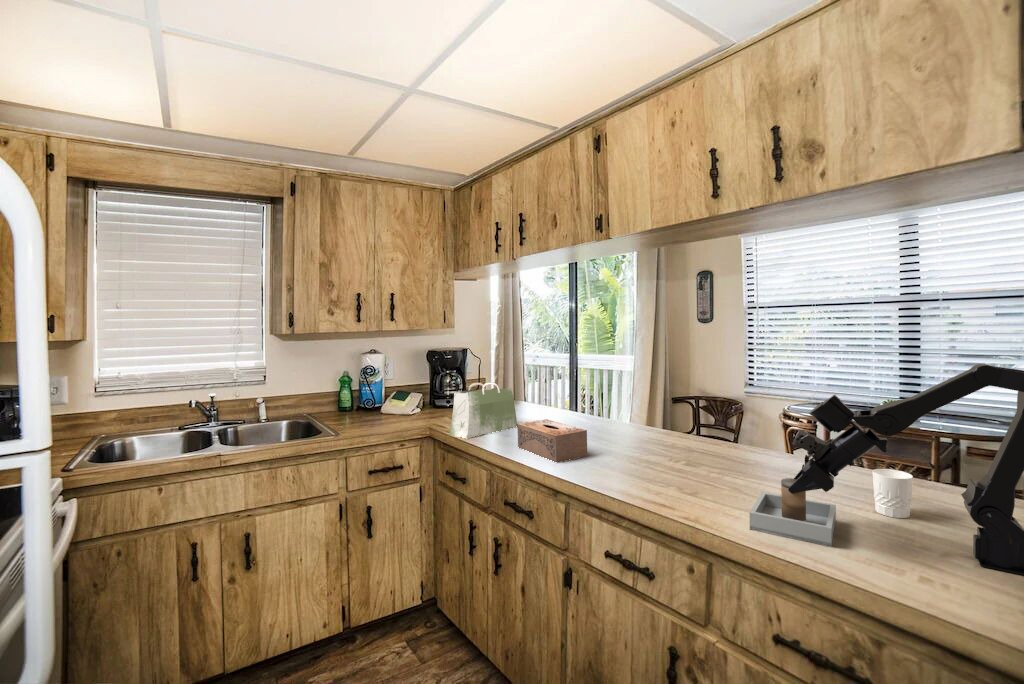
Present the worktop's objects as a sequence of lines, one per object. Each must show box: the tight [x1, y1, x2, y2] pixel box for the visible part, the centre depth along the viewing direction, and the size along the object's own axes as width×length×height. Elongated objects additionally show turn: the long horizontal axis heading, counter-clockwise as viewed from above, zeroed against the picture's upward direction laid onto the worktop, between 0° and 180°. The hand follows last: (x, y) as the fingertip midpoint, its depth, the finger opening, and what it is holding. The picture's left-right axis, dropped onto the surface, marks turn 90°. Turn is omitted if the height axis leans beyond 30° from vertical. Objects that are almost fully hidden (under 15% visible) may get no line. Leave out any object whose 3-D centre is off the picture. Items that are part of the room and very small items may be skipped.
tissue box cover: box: [516, 418, 588, 463], centre depth 184 cm, size 26×14×10 cm, turn 31°
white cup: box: [872, 468, 914, 519], centre depth 118 cm, size 8×8×10 cm
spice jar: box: [780, 477, 807, 521], centre depth 113 cm, size 5×5×8 cm
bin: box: [748, 491, 837, 548], centre depth 113 cm, size 16×16×4 cm
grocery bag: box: [448, 382, 518, 440], centre depth 223 cm, size 32×14×23 cm, turn 135°
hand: (790, 488), depth 113 cm, fingers closed on spice jar, 5 cm apart
